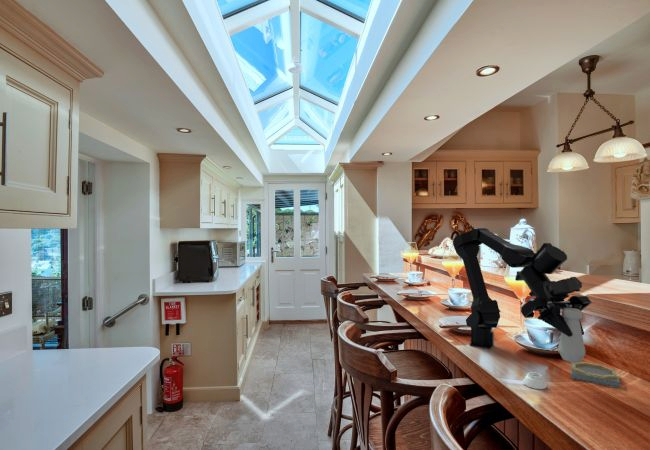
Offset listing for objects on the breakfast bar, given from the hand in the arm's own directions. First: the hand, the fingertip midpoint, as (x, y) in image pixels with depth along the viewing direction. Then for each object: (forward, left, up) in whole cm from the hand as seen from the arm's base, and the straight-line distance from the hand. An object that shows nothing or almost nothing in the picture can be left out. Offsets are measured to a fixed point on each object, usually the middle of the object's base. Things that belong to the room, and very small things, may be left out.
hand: (576, 335), depth 89 cm
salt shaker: (-1, +1, -7) cm, 7 cm away
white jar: (-9, -5, -13) cm, 17 cm away
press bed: (+4, +11, -13) cm, 17 cm away
